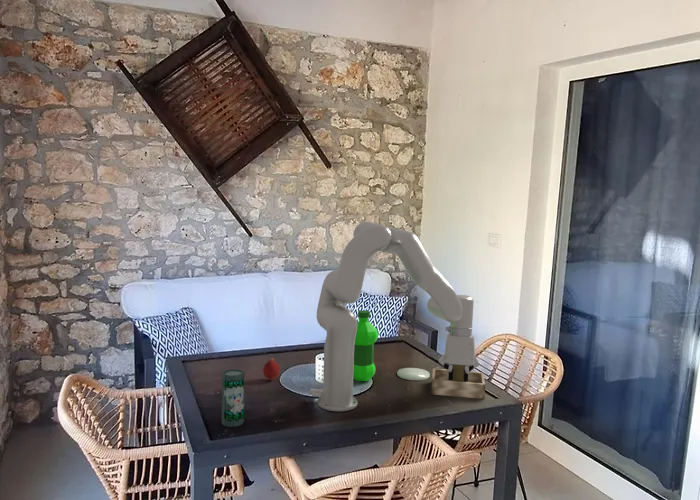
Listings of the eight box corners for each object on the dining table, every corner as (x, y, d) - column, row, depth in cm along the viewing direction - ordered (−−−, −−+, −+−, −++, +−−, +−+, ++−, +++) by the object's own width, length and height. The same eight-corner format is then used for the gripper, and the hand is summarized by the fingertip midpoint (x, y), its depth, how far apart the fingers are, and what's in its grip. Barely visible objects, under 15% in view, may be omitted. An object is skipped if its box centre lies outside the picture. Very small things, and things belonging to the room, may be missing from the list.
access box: (431, 394, 196) (432, 379, 196) (432, 381, 209) (433, 368, 208) (484, 399, 194) (485, 384, 193) (482, 386, 206) (483, 372, 205)
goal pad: (395, 378, 211) (395, 376, 211) (398, 368, 222) (398, 366, 222) (429, 381, 209) (429, 379, 209) (430, 371, 220) (430, 369, 220)
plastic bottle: (343, 382, 205) (346, 313, 202) (352, 373, 215) (354, 307, 212) (371, 386, 202) (373, 316, 199) (378, 376, 212) (381, 310, 209)
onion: (268, 384, 201) (268, 361, 200) (259, 379, 205) (260, 357, 204) (282, 381, 205) (283, 359, 204) (274, 376, 209) (274, 355, 208)
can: (227, 428, 165) (227, 377, 163) (218, 420, 170) (219, 371, 168) (247, 423, 168) (247, 373, 166) (238, 416, 173) (238, 367, 171)
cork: (466, 394, 198) (468, 362, 196) (448, 392, 199) (450, 361, 198) (466, 388, 204) (468, 357, 202) (448, 386, 205) (450, 356, 203)
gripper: (435, 332, 196) (433, 384, 199) (486, 335, 194) (483, 388, 196) (436, 326, 204) (433, 377, 206) (484, 330, 201) (481, 381, 203)
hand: (457, 382), depth 201 cm, fingers closed on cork, 3 cm apart
